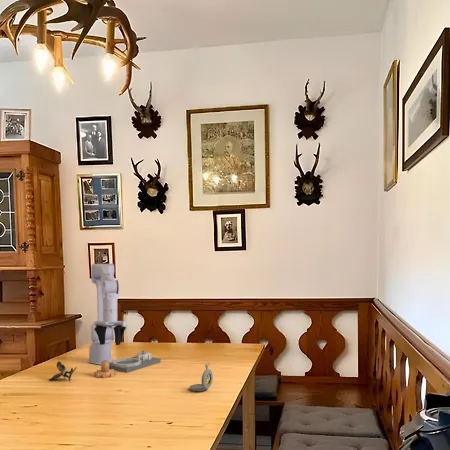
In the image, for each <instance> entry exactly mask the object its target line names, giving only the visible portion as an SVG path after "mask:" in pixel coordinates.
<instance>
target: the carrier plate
mask: <svg viewBox="0 0 450 450" xmlns="http://www.w3.org/2000/svg"><path fill="white" fill-rule="evenodd" d="M146 351H147V350H144V349H143V350H141V352H137V353H135V356H131V357H122V358H117V359H113V360H114V361H112V362H111V363H109V369H114V371H115V370H116V372H121V373H125V374H126V373H130V372H133V371H137V370H139V369H143V368H146V367H150V366H152V365H153V366H154V365H157V364H159V363H161V361H162V359H161V358H159V357H158V358H157V357H154V356H153V354H152V353H150V352H146Z"/></svg>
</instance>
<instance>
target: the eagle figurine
mask: <svg viewBox="0 0 450 450" xmlns="http://www.w3.org/2000/svg"><path fill="white" fill-rule="evenodd" d="M56 367H57V370H58V371H59V373H55V374H54V375H53V376H52V377H51V378H49V379H48V380H49V381H51V380H53V379H59V378H60V377H63V379H66V378H68V381H69V382H70V381H71V378H72V375H73V374H74V372H75V371H76V369H77V366H76V367H75V368H72V367H71V368H70V371H69V370H68V367H66V366H65V365H64V364H62V362H61V361H57V363H56ZM68 374H69V375H68Z"/></svg>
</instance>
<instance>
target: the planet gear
mask: <svg viewBox="0 0 450 450" xmlns="http://www.w3.org/2000/svg"><path fill="white" fill-rule="evenodd" d="M100 366H101V367H100V369H97V370H95V371H94V372H93V376H94V377H95V378H96V379H98V378H102V379H106V378H113V377H114V376H116V375H117V371H116V370H114V369H109V361H108V360H105V361H101V365H100Z"/></svg>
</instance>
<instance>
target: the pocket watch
mask: <svg viewBox="0 0 450 450" xmlns="http://www.w3.org/2000/svg"><path fill="white" fill-rule="evenodd" d="M209 366H210V362H207V363H206V364H205V366H204V367H205V368H206V369H204V371H203V372H202V376H201V383H194V384H191V385H190V386H189V390H191V391H193V392H204V391H207V390H208V389H209V388H210V387H211V386H212V384H213V380H214V378H213V377H214V376H213V371H212V370H211V369H210V368H209Z"/></svg>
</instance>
